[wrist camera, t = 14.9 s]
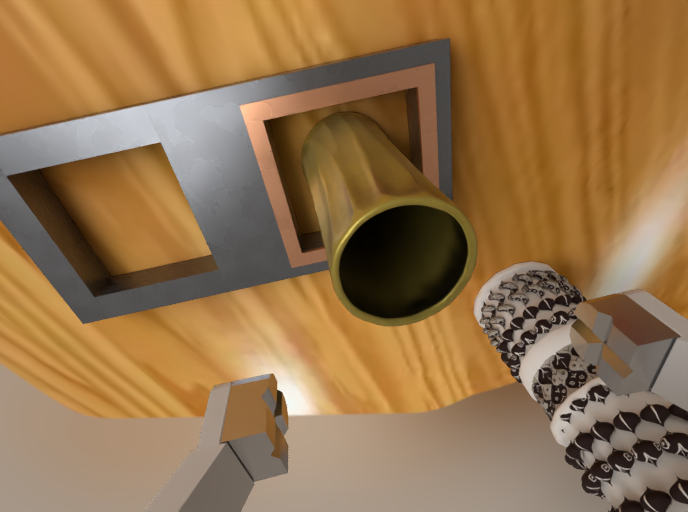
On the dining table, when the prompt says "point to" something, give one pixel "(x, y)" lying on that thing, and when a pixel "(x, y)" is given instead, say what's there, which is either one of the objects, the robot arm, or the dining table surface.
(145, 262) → the dining table surface
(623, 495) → the decorative candle
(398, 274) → the vase
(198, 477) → the robot arm
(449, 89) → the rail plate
